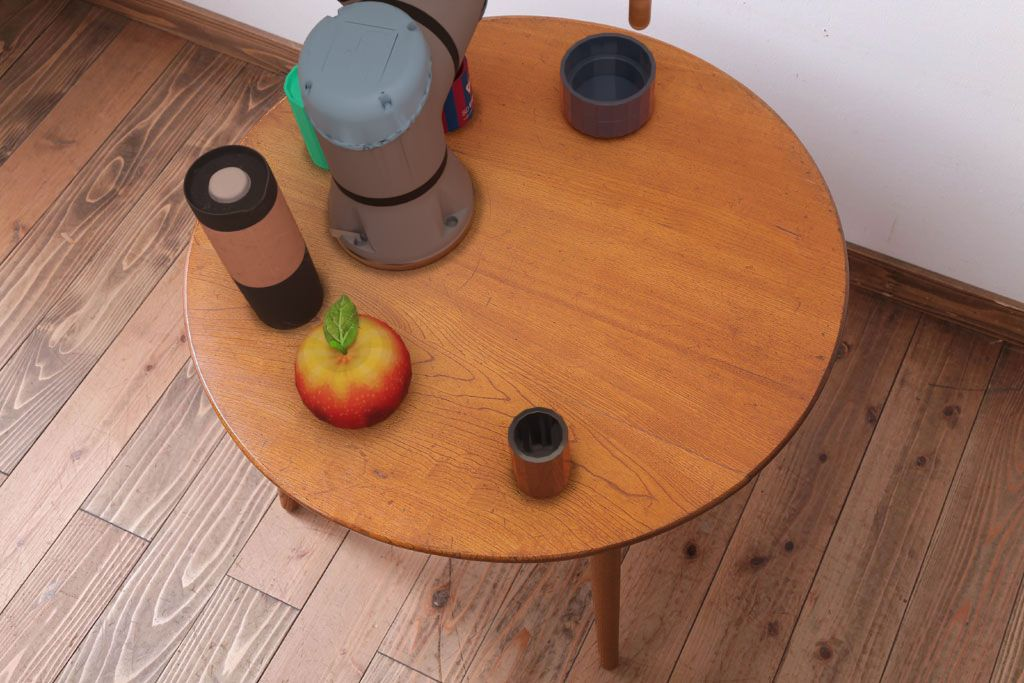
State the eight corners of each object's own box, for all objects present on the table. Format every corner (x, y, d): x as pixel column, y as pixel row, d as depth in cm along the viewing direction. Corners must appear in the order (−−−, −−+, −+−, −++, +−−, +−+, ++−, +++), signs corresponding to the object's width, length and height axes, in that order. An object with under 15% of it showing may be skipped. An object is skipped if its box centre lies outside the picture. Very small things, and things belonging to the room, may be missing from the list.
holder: (510, 453, 94) (501, 414, 86) (564, 442, 94) (561, 401, 86) (521, 504, 91) (513, 468, 83) (576, 492, 92) (574, 455, 84)
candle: (298, 148, 113) (267, 72, 102) (341, 118, 114) (315, 39, 104) (330, 179, 110) (302, 105, 100) (374, 148, 112) (350, 71, 101)
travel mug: (253, 271, 105) (184, 147, 88) (327, 263, 105) (273, 138, 87) (250, 336, 102) (177, 220, 84) (326, 328, 101) (269, 211, 84)
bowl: (552, 82, 114) (550, 43, 109) (639, 64, 115) (641, 24, 109) (573, 150, 110) (571, 113, 104) (663, 131, 110) (667, 93, 105)
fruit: (302, 445, 96) (272, 400, 87) (313, 343, 101) (286, 290, 92) (415, 442, 95) (397, 397, 86) (421, 340, 100) (404, 287, 91)
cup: (465, 136, 112) (458, 94, 106) (379, 124, 113) (366, 82, 107) (480, 90, 115) (474, 46, 109) (395, 79, 116) (384, 35, 110)
